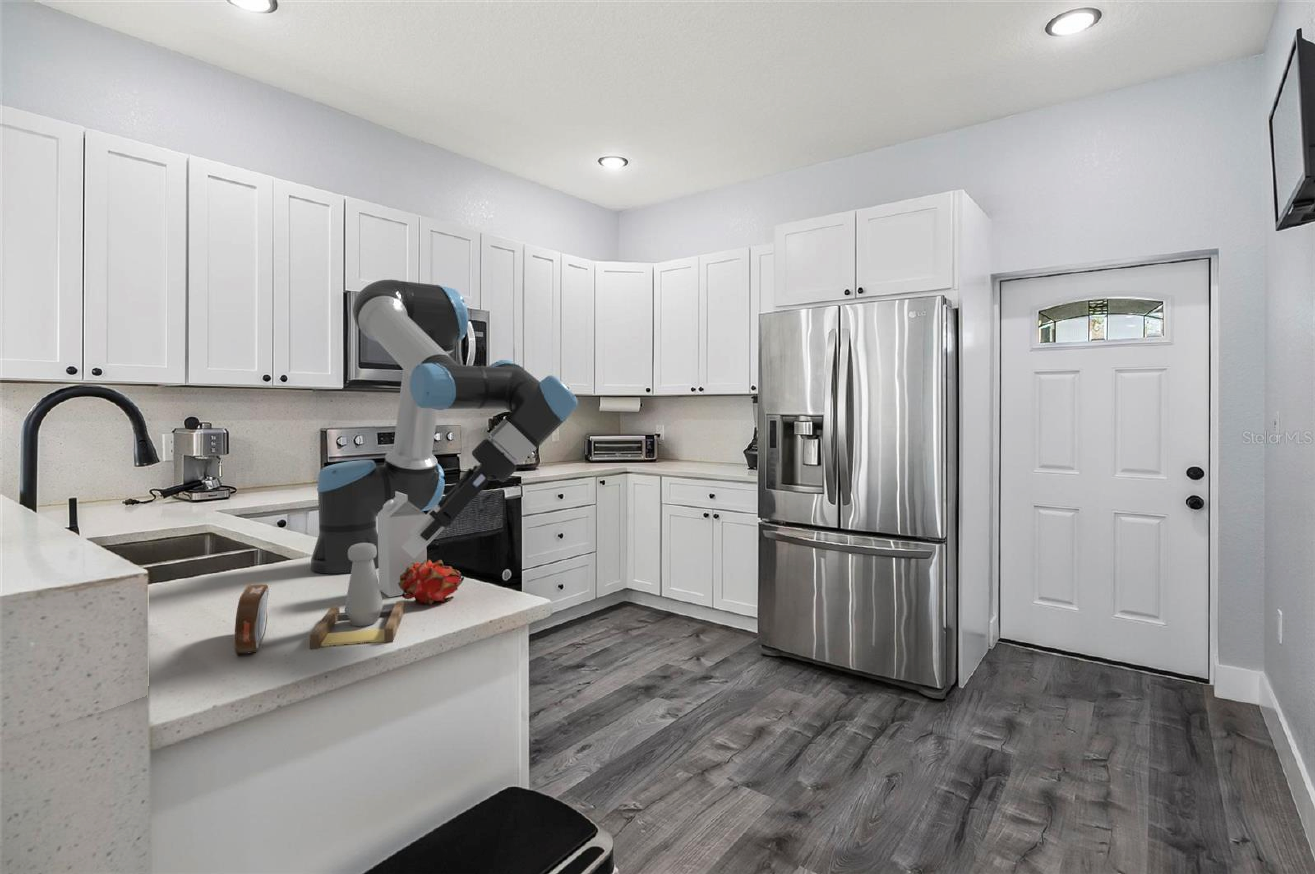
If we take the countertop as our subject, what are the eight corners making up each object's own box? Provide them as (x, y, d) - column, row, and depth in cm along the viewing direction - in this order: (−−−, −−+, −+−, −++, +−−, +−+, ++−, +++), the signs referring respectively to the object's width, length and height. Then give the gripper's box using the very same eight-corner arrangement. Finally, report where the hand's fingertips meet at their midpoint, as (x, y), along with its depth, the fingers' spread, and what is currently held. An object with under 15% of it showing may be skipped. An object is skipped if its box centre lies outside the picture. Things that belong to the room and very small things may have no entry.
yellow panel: (327, 635, 104) (327, 633, 104) (388, 630, 106) (388, 628, 106) (320, 646, 99) (320, 644, 99) (384, 641, 101) (384, 638, 101)
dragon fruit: (392, 615, 120) (458, 613, 126) (405, 596, 114) (474, 595, 121) (391, 571, 124) (455, 572, 131) (403, 550, 118) (470, 552, 125)
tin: (249, 630, 107) (247, 578, 106) (271, 628, 108) (270, 576, 108) (232, 663, 93) (230, 603, 93) (258, 660, 94) (257, 601, 94)
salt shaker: (369, 630, 107) (366, 550, 106) (337, 626, 108) (334, 548, 107) (390, 616, 113) (388, 541, 111) (360, 613, 114) (357, 538, 112)
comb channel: (331, 618, 113) (331, 606, 113) (403, 612, 116) (403, 601, 116) (310, 648, 98) (309, 635, 98) (393, 641, 101) (392, 628, 101)
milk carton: (415, 584, 135) (413, 490, 134) (427, 591, 129) (425, 493, 128) (378, 590, 130) (376, 492, 130) (389, 598, 125) (387, 496, 124)
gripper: (524, 473, 103) (423, 577, 100) (515, 461, 127) (433, 544, 124) (488, 439, 102) (384, 543, 98) (485, 434, 126) (402, 517, 122)
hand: (411, 544), depth 111 cm, fingers open, 13 cm apart
